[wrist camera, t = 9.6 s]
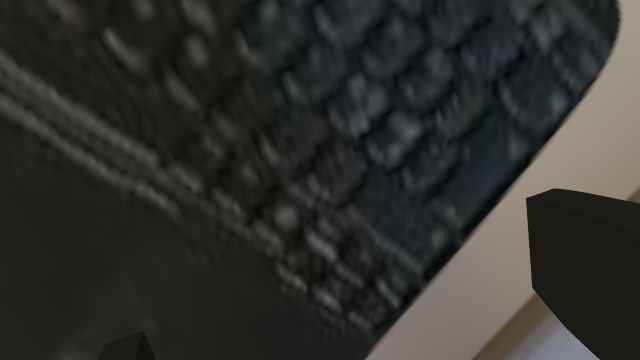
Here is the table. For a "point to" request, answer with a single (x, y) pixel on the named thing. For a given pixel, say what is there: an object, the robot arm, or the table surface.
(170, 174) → the table surface
